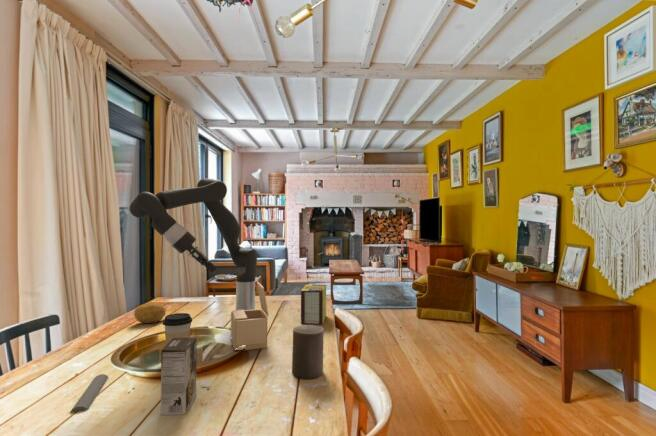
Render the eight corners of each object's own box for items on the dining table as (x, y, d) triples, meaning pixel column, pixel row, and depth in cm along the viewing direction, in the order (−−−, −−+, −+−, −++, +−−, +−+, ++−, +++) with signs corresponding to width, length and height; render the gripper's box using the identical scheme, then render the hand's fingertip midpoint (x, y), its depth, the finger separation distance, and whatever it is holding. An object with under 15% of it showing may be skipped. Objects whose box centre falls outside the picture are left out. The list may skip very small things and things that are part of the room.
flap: (261, 307, 147) (256, 281, 146) (262, 307, 147) (258, 281, 146) (267, 316, 134) (262, 287, 133) (269, 316, 134) (264, 287, 134)
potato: (168, 302, 165) (162, 297, 172) (136, 308, 157) (131, 302, 164) (168, 322, 166) (163, 316, 173) (137, 329, 158) (132, 322, 165)
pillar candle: (299, 382, 105) (300, 331, 106) (287, 369, 114) (288, 322, 114) (328, 376, 110) (329, 327, 110) (314, 364, 119) (315, 319, 119)
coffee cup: (198, 357, 123) (198, 314, 123) (176, 367, 115) (176, 321, 115) (178, 353, 127) (178, 311, 127) (155, 362, 119) (155, 317, 119)
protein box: (326, 315, 179) (326, 284, 179) (322, 324, 163) (323, 290, 163) (305, 315, 180) (305, 284, 180) (300, 323, 164) (300, 290, 164)
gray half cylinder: (109, 379, 108) (109, 373, 108) (88, 412, 89) (88, 405, 89) (93, 381, 106) (93, 375, 107) (68, 415, 88) (68, 408, 88)
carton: (230, 338, 143) (230, 309, 143) (260, 335, 147) (260, 307, 147) (234, 351, 129) (234, 319, 129) (267, 347, 133) (267, 316, 133)
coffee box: (172, 397, 96) (173, 337, 96) (197, 396, 97) (197, 336, 97) (159, 415, 87) (160, 349, 87) (186, 414, 87) (187, 348, 88)
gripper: (186, 231, 124) (222, 264, 128) (187, 229, 137) (220, 260, 141) (169, 246, 122) (207, 280, 126) (172, 243, 135) (206, 274, 140)
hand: (213, 269), depth 134 cm, fingers open, 3 cm apart
